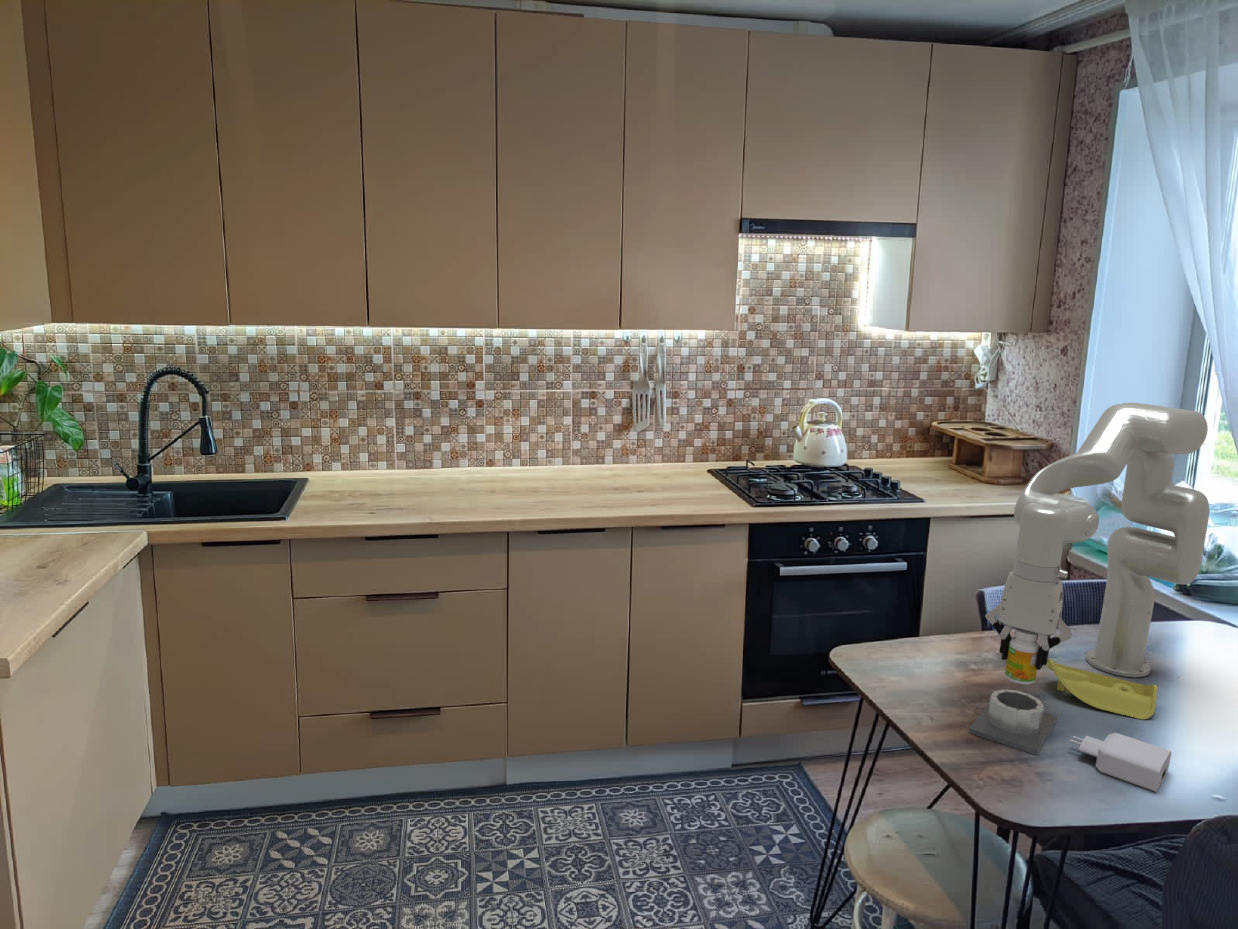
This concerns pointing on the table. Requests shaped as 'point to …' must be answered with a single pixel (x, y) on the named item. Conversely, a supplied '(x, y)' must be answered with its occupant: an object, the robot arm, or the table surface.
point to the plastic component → (1106, 691)
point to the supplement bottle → (1022, 657)
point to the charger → (1128, 759)
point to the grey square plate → (1014, 721)
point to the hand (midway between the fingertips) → (1022, 661)
